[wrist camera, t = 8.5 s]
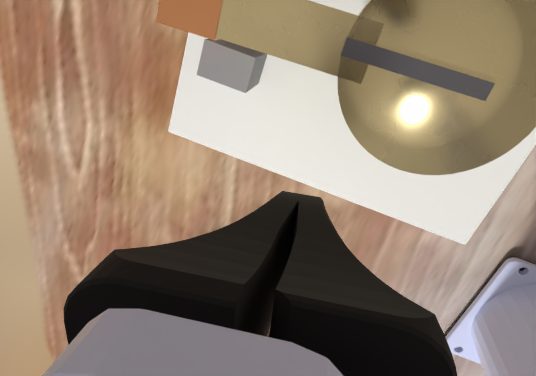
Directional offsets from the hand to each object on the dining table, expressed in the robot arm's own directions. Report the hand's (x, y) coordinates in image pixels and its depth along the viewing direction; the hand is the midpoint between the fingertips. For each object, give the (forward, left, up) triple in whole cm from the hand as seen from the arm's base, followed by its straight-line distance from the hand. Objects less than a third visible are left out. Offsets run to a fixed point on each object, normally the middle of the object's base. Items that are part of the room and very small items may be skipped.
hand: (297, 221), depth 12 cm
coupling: (0, -5, -6) cm, 8 cm away
